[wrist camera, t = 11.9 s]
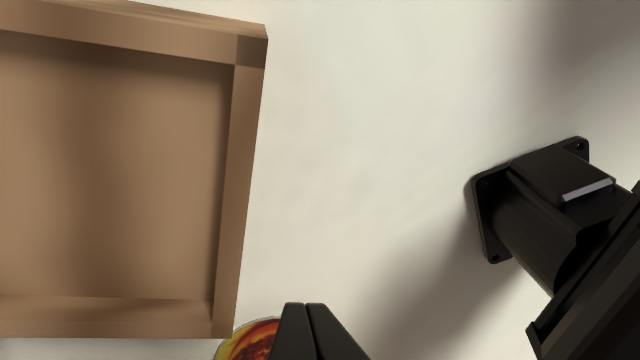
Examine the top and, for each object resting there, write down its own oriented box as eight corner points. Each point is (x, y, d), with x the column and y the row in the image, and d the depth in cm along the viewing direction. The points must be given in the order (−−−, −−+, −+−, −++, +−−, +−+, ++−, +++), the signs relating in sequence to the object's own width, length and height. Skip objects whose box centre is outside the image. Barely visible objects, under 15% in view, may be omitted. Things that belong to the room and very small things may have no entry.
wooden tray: (268, -9, 16) (273, -3, 13) (232, 299, 24) (229, 357, 20) (-111, -83, 14) (-235, -101, 10) (-22, 292, 21) (-76, 358, 17)
